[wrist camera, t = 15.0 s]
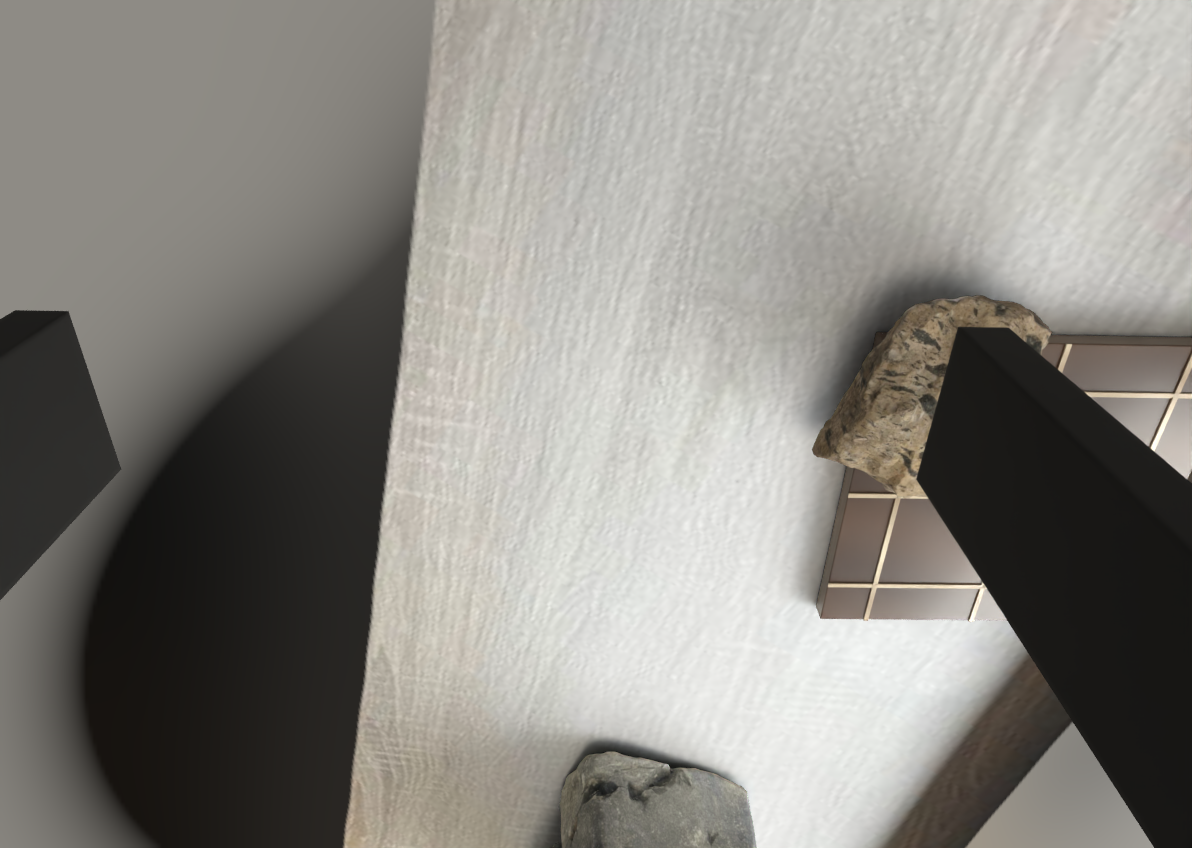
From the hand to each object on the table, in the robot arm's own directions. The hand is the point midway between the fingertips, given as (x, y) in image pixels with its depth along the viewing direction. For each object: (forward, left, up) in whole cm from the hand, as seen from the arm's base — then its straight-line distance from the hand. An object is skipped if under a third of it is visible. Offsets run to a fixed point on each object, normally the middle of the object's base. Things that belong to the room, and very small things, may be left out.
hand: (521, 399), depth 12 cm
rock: (+14, +20, -28) cm, 37 cm away
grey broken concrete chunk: (+55, +6, -29) cm, 62 cm away
